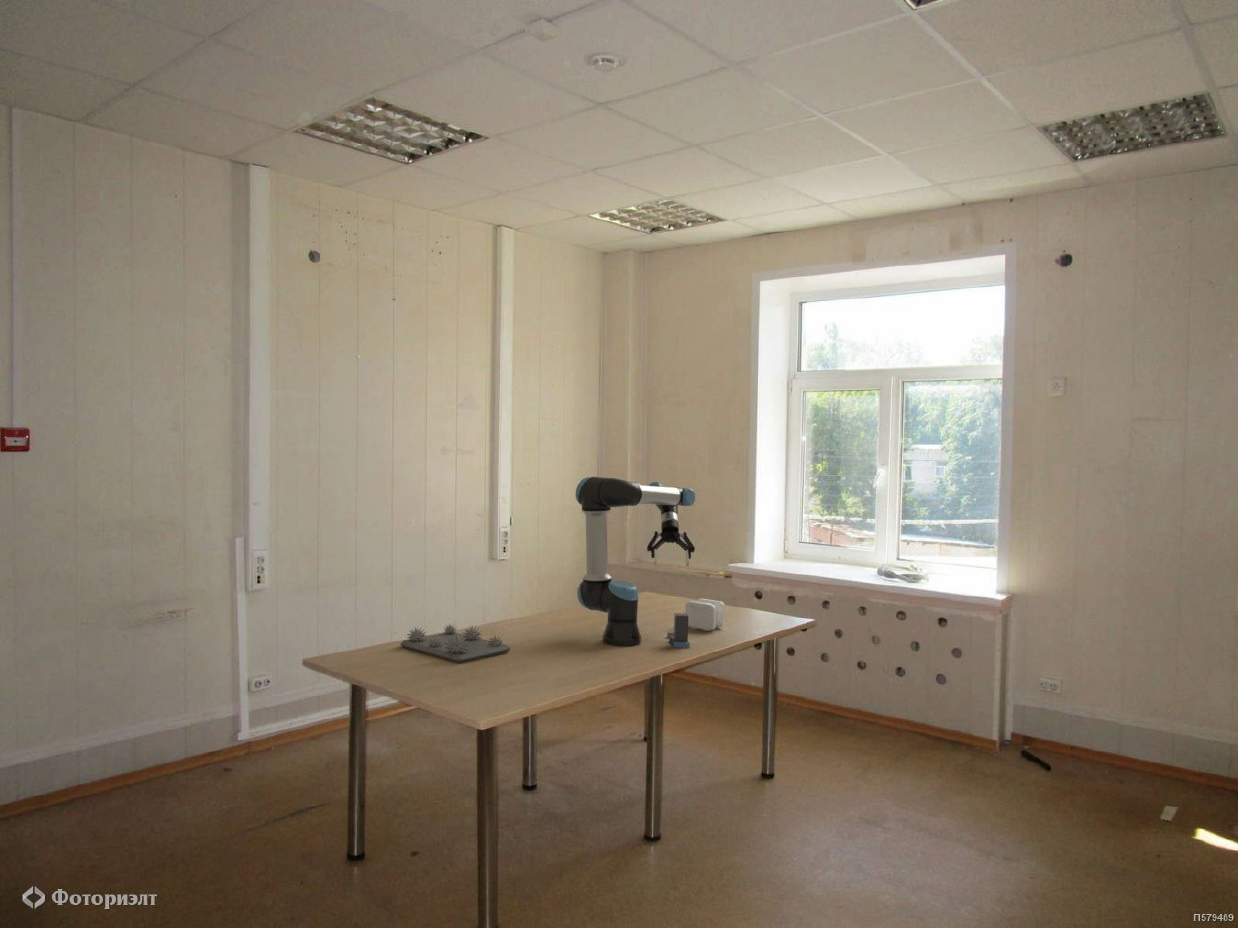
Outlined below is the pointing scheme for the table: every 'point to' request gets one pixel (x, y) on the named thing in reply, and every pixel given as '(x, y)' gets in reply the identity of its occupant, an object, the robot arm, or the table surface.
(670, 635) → the pair of grey bars
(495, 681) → the table surface
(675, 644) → the blue flat block
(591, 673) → the table surface
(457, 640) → the decorative tray
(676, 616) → the dark grey rectangular block
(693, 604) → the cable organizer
